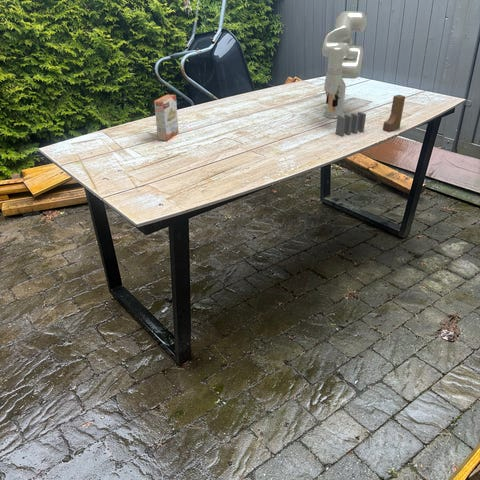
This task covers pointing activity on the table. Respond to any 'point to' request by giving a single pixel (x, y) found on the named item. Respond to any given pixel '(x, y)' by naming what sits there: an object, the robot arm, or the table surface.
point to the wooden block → (395, 114)
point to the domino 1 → (331, 102)
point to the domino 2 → (340, 125)
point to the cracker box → (166, 117)
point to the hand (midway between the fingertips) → (331, 104)
